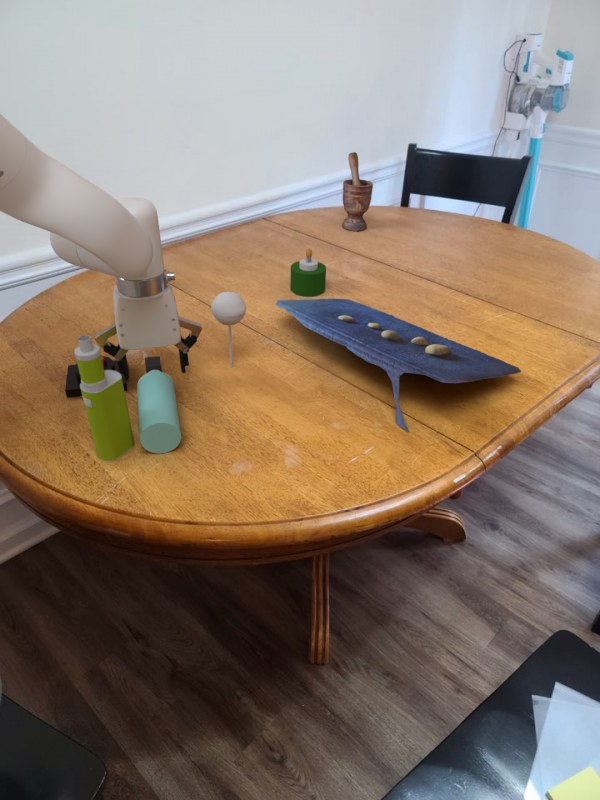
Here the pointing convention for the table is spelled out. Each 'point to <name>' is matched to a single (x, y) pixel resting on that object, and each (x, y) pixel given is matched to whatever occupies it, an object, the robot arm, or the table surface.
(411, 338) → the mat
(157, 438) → the spray bottle
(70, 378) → the button box
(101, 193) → the robot arm
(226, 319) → the lollipop
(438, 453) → the table surface
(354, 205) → the mortar and pestle
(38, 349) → the table surface
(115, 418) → the vape
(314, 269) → the candle
